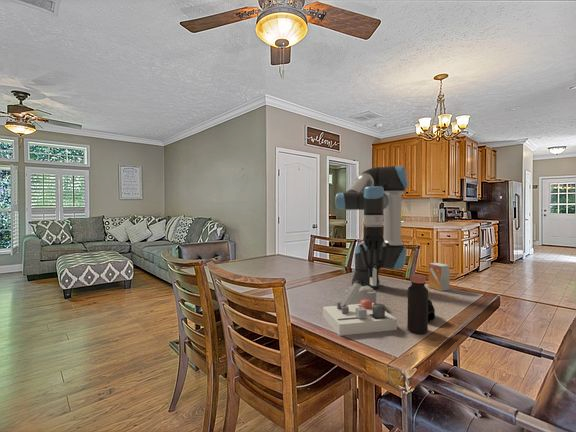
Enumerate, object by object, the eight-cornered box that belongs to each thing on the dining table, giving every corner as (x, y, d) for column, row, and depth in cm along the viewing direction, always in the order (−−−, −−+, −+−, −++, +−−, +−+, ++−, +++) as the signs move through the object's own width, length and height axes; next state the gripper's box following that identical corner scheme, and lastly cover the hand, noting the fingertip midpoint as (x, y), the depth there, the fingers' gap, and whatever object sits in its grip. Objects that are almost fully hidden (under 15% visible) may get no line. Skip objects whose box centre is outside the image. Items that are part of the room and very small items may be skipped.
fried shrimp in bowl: (419, 313, 113) (393, 286, 130) (423, 334, 118) (397, 305, 134) (441, 303, 114) (412, 277, 130) (444, 324, 119) (416, 296, 135)
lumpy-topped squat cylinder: (378, 309, 131) (378, 289, 131) (348, 310, 131) (348, 290, 130) (370, 301, 141) (370, 283, 141) (343, 302, 141) (343, 283, 141)
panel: (373, 312, 128) (373, 297, 128) (396, 329, 110) (396, 312, 110) (323, 316, 123) (323, 301, 123) (339, 335, 106) (339, 317, 105)
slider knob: (363, 315, 113) (363, 307, 113) (366, 318, 110) (366, 310, 110) (355, 315, 113) (355, 307, 113) (359, 318, 110) (359, 310, 110)
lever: (342, 308, 120) (359, 281, 121) (345, 311, 117) (363, 283, 118) (338, 305, 120) (355, 278, 121) (341, 308, 117) (358, 280, 118)
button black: (381, 317, 116) (381, 303, 115) (387, 321, 111) (387, 307, 111) (370, 318, 115) (370, 304, 114) (376, 322, 110) (376, 308, 110)
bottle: (431, 334, 107) (432, 277, 106) (412, 335, 106) (413, 278, 105) (421, 326, 113) (422, 273, 112) (403, 326, 113) (404, 273, 112)
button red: (368, 312, 125) (369, 298, 125) (374, 315, 121) (374, 302, 121) (359, 312, 125) (359, 299, 124) (363, 316, 120) (363, 303, 120)
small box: (428, 287, 164) (428, 263, 163) (436, 285, 166) (437, 262, 166) (440, 291, 156) (441, 266, 156) (449, 289, 159) (450, 265, 158)
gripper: (362, 226, 114) (362, 288, 116) (393, 226, 117) (393, 286, 118) (354, 225, 122) (353, 283, 123) (383, 224, 124) (383, 281, 126)
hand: (373, 285), depth 121 cm, fingers closed
